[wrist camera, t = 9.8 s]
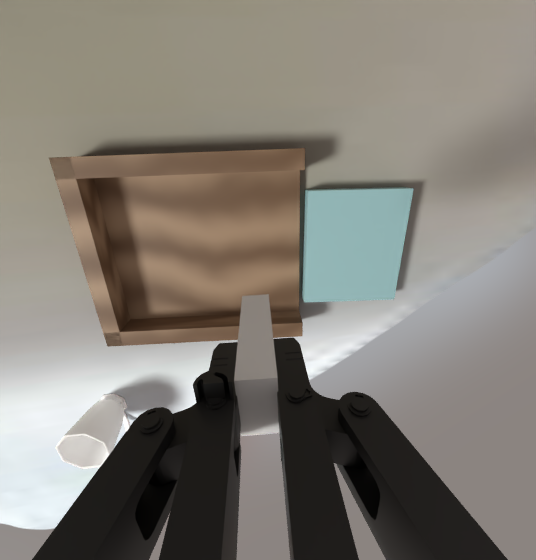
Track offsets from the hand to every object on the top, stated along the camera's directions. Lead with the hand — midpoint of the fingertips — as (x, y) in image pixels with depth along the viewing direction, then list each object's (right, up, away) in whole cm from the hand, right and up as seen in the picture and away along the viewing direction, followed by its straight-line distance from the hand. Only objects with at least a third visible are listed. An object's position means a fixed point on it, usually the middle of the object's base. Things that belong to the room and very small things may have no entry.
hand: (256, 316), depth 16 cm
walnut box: (-8, +6, +19) cm, 21 cm away
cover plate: (+11, +7, +20) cm, 24 cm away
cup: (-23, -19, +28) cm, 41 cm away
